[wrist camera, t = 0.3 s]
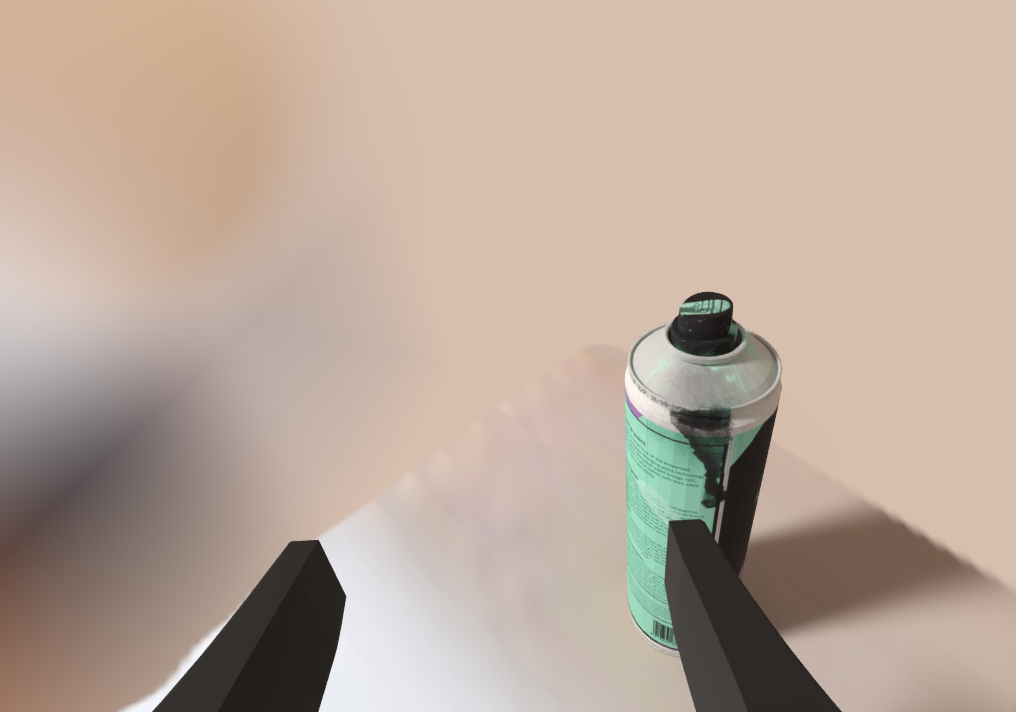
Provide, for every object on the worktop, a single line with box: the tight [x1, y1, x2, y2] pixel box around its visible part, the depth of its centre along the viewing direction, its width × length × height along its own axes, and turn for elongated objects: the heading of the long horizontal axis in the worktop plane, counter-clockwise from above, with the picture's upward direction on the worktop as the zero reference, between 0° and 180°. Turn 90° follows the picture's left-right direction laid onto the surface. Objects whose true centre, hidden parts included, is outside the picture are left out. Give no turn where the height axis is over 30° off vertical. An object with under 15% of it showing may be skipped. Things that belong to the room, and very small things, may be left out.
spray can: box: [625, 292, 782, 658], centre depth 24 cm, size 6×6×20 cm
